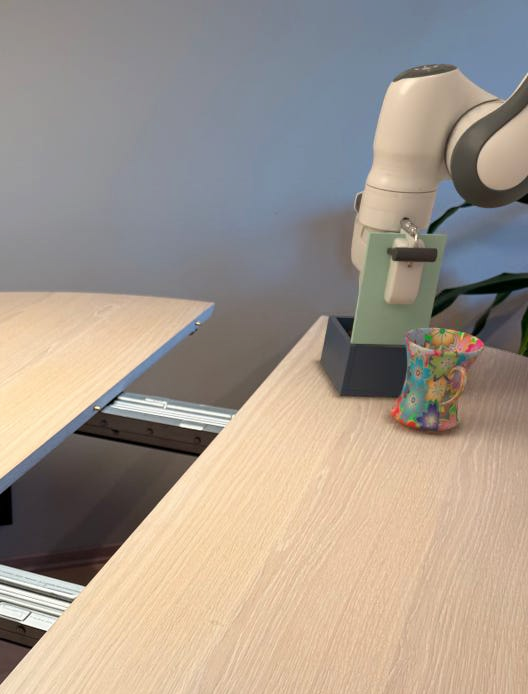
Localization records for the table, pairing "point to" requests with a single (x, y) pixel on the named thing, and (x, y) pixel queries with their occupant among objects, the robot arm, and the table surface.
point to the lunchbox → (362, 363)
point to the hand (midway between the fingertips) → (373, 317)
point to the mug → (435, 377)
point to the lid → (372, 310)
